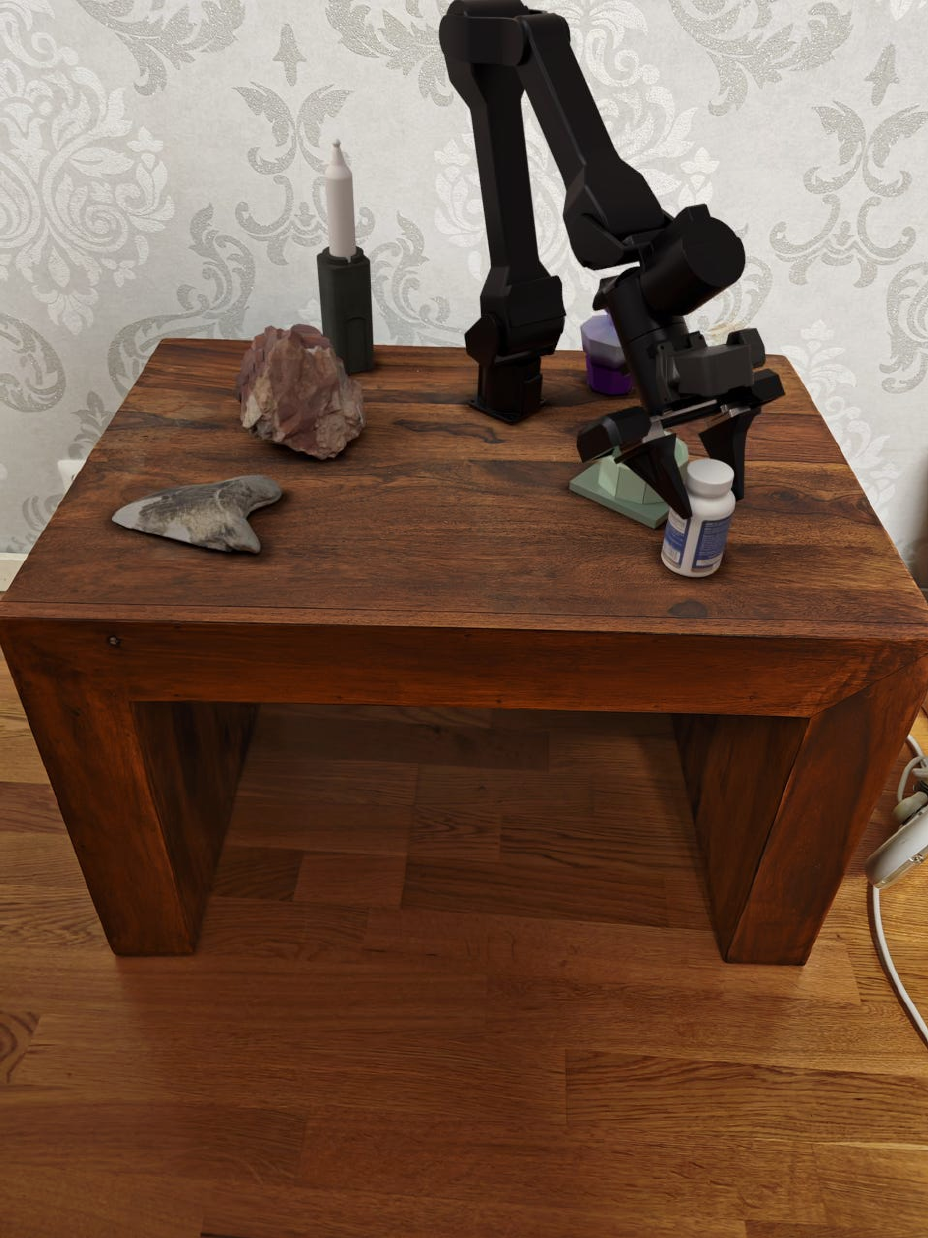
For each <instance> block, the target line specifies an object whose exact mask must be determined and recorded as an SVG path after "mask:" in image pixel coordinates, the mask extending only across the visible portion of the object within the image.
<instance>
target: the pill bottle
mask: <svg viewBox="0 0 928 1238" xmlns="http://www.w3.org/2000/svg"><path fill="white" fill-rule="evenodd" d="M733 478H734V472H733V470H732V468H731V467H730V466H728V465H727V464H725V463H723V462H721V461H718V460H714V459H710V458H698V459H695V460H691V462H689V464H688V466H687V469H686V473H685V477H684V481H683V482H684V485H685V488H686V491H687V494H688V497H689V500H690V504H691V509H692V513H693V516H692V517H691V518H688V519H686V520H683V519H682V518H681V517H680V516H679V515H678V514H677V513H676V512H675V511H674V510H673V509H672V508H671V507H670V511H669V516H668V518H667V522H666V525H665V526H666V527H665V532H664V537H663V542H662V548H661V560H662V562H663V563H664V565H665V566H666V567H667V568H668V569H669V570H671V571H672V572H674V573H676V574H678V575H681V576H684V577H690V578H702V577H708V576H710V575H712V574H714V573H715V572H717V570H718V569H719V567H720V566H721V562H722V559H723V555H724V551H725V547H726V543H727V539H728V534H729V532H730V531H729V530H730V526H731V523H732V519H733V515H734V511H735V506H736V502H735V497H734V494H733V492H732V491H731V490H730V489H731V487H732V482H733Z"/></svg>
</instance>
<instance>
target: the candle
mask: <svg viewBox="0 0 928 1238" xmlns="http://www.w3.org/2000/svg"><path fill="white" fill-rule="evenodd" d="M331 144H332V151H331V156H330V161H329V163H328V165H327V168H326V169H325V171H324V175H323V177H324V192H325V204H326V205H325V207H326V219H327V235H328V246H326V247H325V248H323V249H322V251H321V252H320V253H318V254H317V255H316V267H317V282H318V293H319V294H318V295H319V305H320V318H321V330H322V331H321V333H322V334H323V336H324V337H326V338H328V339H329V340H330V342H331V343H332V345H333V346H334V347H333V348H334V351H335V354H336V357H339V358H341V359H342V360H343V363H344V368H345V373H346V374H347V376H349V375H352V374H357V373H362V372H365V371H366V372H369V371H372V370H374V369H375V367H376V366H375V345H374V343H375V342H374V319H373V318H374V317H373V316H374V315H373V296H372V272H371V259H369V257H368V256H367V255H365V251H364V249H363V248H362V247H360V246H358V245H357V241H356V224H355V223H356V221H355V219H356V218H355V203H354V184H353V183H354V182H353V173H352V171H351V169H350V168H349V167H348V165H347V163H346V161H345V158H344V155H343V152H342V148H341V141H340V139H339V138H336V137H335V138H333V139H332V142H331Z"/></svg>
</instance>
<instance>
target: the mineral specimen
mask: <svg viewBox="0 0 928 1238" xmlns="http://www.w3.org/2000/svg"><path fill="white" fill-rule="evenodd" d="M333 347H334V346H333V345H332V343H331V342H330V340H329V339H328V338H326V337H324V336H323V333H322V331H320V330H319V329H318V328H317V327H315V326H314V325H310V324H304V323H296V324H293V325H292V326H291V327H289V329H286V330H284V329H283V328H281V327H280V328H277V327H275V326H273V325H269V326H266V327H264V331H263V332H262V333H259V334H257V335H254V337H253V339H252V342H251V346H250V348H249V349H248V350H246V352H245V353H244V355H243V356H242V362H241V365H240V372H238V373H237V374H236V375H235V376H236V377H235V400H236V401H237V402H238V403H239V404H240V417H239V418H240V421H242V427H243V428H245V429H246V430H247V431H248V433H249V435H250V436H252V438H257V439H258V440H260V441H263V442H265V443H268V444H276V445H285V446H287V447H288V448H289V449H291V450H293V451H295V452H297V453H298V452H304V453H305V454H307V455H309V456H311V455H312V456H313V457H315V458H317V459H319V460H320V461H321V460H322V461H323V460H326V459H327V458H332V459H334V458H336V457H337V456H338V455H339V453H340V452H341V451H343V450H344V449H345V447H346V446H347V443H349V442H350V441H352V440H355V439H356V438H358V437H359V435H360V434H361V431H362V430H363V429H364V428H365V427H366V425H367V412H366V410H365V407H364V403H365V397H364V394H363V392H364V389H363V384H362V383H361V382H360V381H358V380H355V379H350V378H349V375H347V374H346V373H345V368H344V363H343V360H342V359H341V358H339V357H336V354H335V351H334V348H333Z"/></svg>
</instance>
